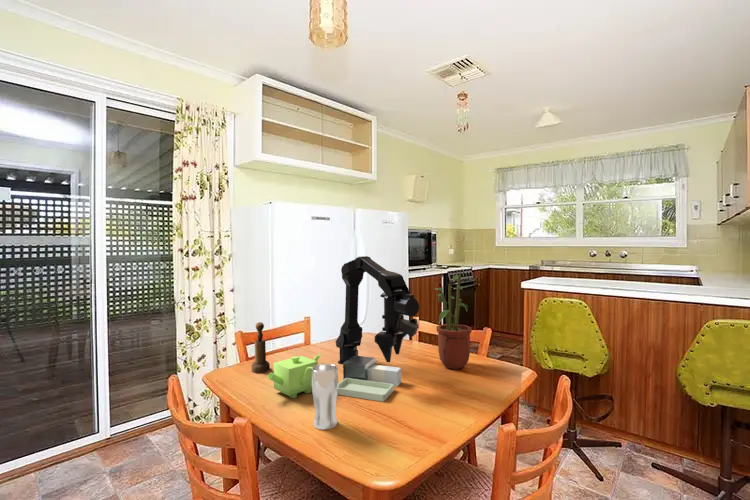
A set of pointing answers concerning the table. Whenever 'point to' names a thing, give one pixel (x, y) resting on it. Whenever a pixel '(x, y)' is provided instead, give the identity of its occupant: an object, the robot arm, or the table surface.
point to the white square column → (384, 374)
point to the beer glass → (325, 395)
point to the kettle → (293, 375)
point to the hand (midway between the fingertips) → (393, 358)
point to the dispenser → (357, 367)
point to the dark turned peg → (260, 352)
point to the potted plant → (453, 333)
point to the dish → (365, 389)
